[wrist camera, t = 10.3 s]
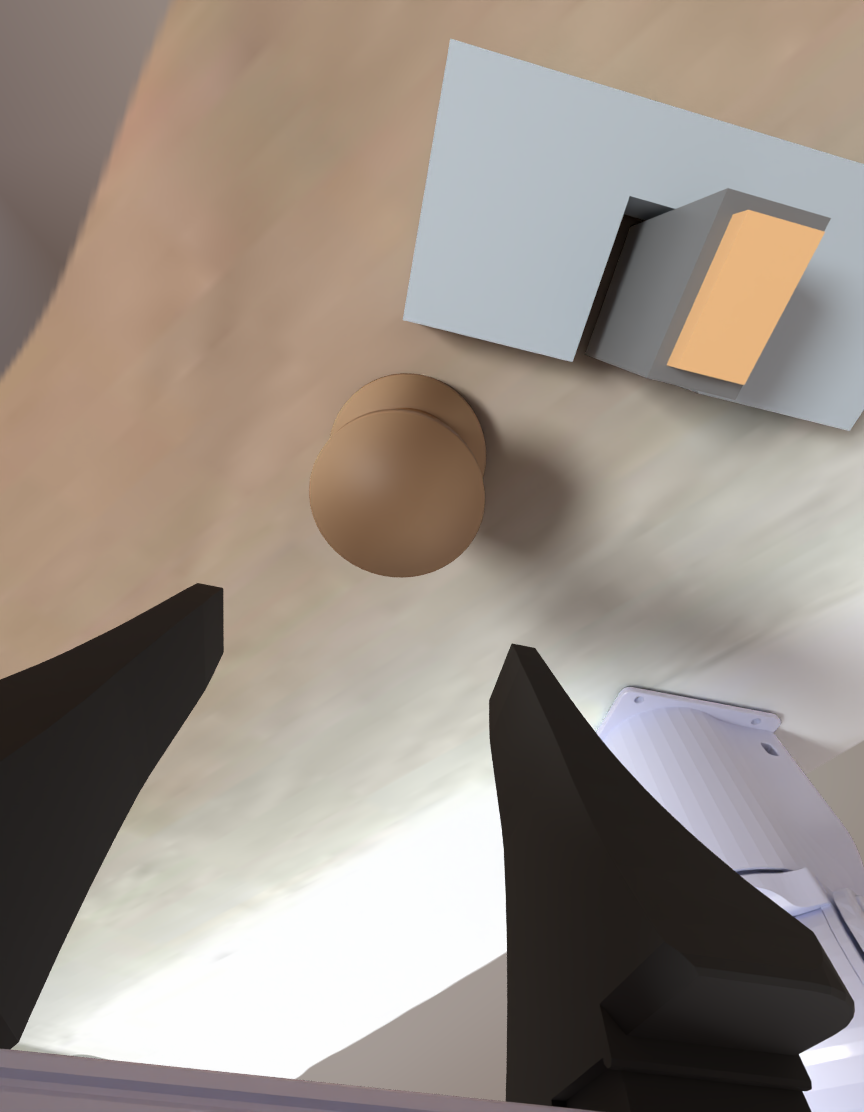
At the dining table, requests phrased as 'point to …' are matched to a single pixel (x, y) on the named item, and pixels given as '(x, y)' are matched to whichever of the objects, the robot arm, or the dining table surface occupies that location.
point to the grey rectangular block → (704, 290)
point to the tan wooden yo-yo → (401, 477)
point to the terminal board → (619, 220)
